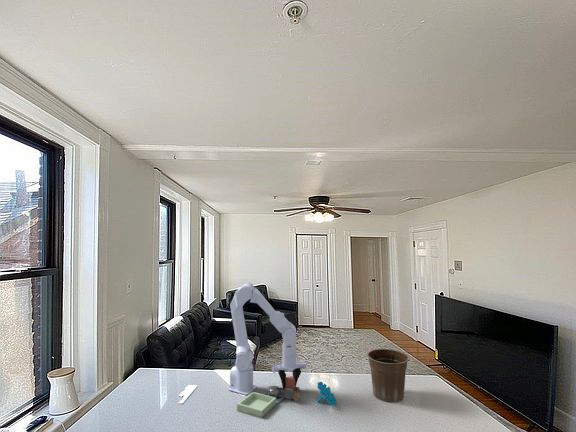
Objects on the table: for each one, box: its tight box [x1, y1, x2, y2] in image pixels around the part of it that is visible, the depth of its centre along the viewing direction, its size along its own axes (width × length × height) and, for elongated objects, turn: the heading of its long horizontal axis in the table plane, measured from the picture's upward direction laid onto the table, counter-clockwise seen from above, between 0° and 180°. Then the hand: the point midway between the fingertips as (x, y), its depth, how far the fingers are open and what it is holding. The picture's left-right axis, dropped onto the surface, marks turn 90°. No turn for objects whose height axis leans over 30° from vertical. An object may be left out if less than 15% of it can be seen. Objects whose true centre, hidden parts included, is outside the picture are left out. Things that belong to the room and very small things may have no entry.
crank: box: [268, 385, 300, 402], centre depth 135 cm, size 12×5×3 cm, turn 83°
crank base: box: [267, 393, 284, 405], centre depth 137 cm, size 6×10×1 cm, turn 153°
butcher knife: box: [177, 384, 198, 405], centre depth 138 cm, size 5×15×1 cm, turn 172°
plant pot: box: [366, 348, 410, 403], centre depth 139 cm, size 16×16×16 cm
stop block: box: [285, 375, 295, 389], centre depth 142 cm, size 4×4×5 cm
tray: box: [236, 391, 277, 419], centre depth 128 cm, size 11×11×2 cm
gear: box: [316, 381, 337, 407], centre depth 133 cm, size 11×6×10 cm
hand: (289, 387), depth 142 cm, fingers closed on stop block, 4 cm apart
